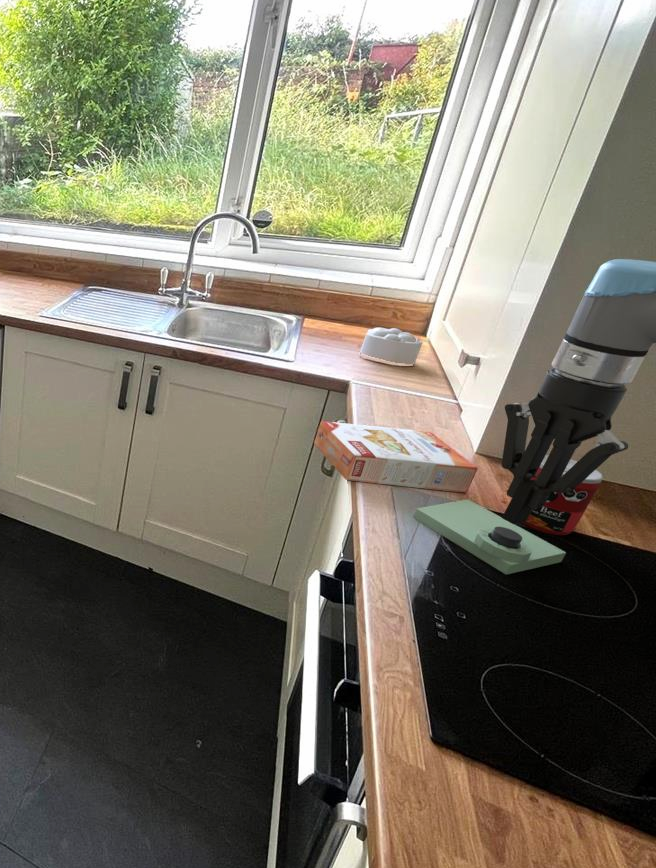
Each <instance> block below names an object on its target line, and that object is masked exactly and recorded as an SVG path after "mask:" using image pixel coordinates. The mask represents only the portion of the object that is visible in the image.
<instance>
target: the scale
mask: <svg viewBox="0 0 656 868" xmlns="http://www.w3.org/2000/svg"><path fill="white" fill-rule="evenodd" d="M502 517H503V516H502ZM502 517H501V516H500V515H498V514H496V513H494V512H493V511H491V510H488V509H487V508H485V507H484V506H481V505H480V504H478V503H475V502H474V501H472V500H470V499H462V500H457V501H450V502H445V503H439V504H433V505H429V506H423V507H422V506H421V507H417V508H416V509H415V510H414V513H413V516H412V518H413V519H415V520H417V521H418V522H420V523H422V524H423V525H424V526H426V527H428V529H431V530H433V531H435V532H436V533H438V534H439V535H441V536H442V537H444V538H446V539H448V540H449V541H451V542H452V543H454V544H456V545H457V546H459V547H460V548H462V549H464V550H465V551H467V552H469V553H470V554H472V555H473V556H475V557H477V559H480V560H481V561H483V562H484V563H486V564H488V565H490V566H491V567H493V568H494V569H496V570H497V571H499V572H501V573H503V574H504V575H511V574H514V573H519V572H524V571H528V570H533V569H536V568H540V567H545V566H550V565H554V564H558V563H562V561H563V560H564V558H565V556H566V554H567V552H566V551H564V550H562V549H561V548H559V547H557V546H556V545H553V544H551V543H549V542H548V541H546V540H544V539H543V538H540V537H539V536H537V535H535V534H533V533H532V532H529V531H528V530H525V529H524V528H523V527H521V526H518V525H517V524H512V523H510V522H508V521H506V520H504V519H503V518H502ZM495 527H504V528H508V529H511V530H513V531H515V532H517V533H518V534H520V535H521V536H522V541H521V543H520V545H519V546H518V548H517V549H512V548H507V547H504V546H501V545H499V544H497V543H495V542H494V541H492V540H491V539H490V536H491V534H492V532H493V530H494V528H495Z"/></svg>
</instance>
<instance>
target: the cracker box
mask: <svg viewBox="0 0 656 868" xmlns="http://www.w3.org/2000/svg"><path fill="white" fill-rule="evenodd" d="M313 445H314V446H315V447H316V448H317V450H318V451H319V452H320V453H321V454H322V455H323V456H324V457H325V459H327V461H328V462H329V463H330V464H331V465H332V466H333V467H334V468H335V469H336V471H337V472H338V473H339V474H340V475H341V476H342V478H344V480H346V481H353V482H361V483H363V482H364V483H370V484H379V485H389V486H400V487H407V488H417V489H426V490H436V491H445V492H453V493H454V492H455V493H464V494H467V493H468V492H469V489H470V487H471V485H472V482H473V481H474V478H475V476H476V473H477V471H478V469H479V467H478V466H476V465H475V464H473V463H472V462H471V461H469V460H468V459H467V458H465V457H464V456H463V455H461V454H460V453H459V452H457V451H456V450H455V449H453V448H452V447H451V446H450V445H449V444H447V443H446V442H444V441H443V440H442V439H441V438H439V437H438V436H436V435H435V434H434V433H433V432H432V431H428V430H427V431H426V430H415V429H406V428H398V427H397V428H396V427H386V426H377V425H376V426H374V425H364V424H355V423H345V422H335V421H327V420H321V421H320V423H319V425H318V429H317V433H316V435H315V439H314V441H313Z"/></svg>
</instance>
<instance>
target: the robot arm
mask: <svg viewBox="0 0 656 868" xmlns="http://www.w3.org/2000/svg"><path fill="white" fill-rule="evenodd" d="M573 315H574V316H573V318H572V320H571V322H570V324H569V326H568V329H567V331H566V333H565V335H564V337H563V339H562V341H561V343H560V345H559V348H558V349H557V352H556V354H555V355H554V357H553V359H552V362H551V366H552V368H551V369H549V370H547V372H546V374H545V375H544V378H543V379H542V382H541V384H540V386H539V388H538V389H537V390H538V392H537V394H536V395H535V396H534V397H532V398H531V399H529V401H528V402H514V403H507V404H505V405H504V411H505V414H506V418H507V424H506V430H505V438H504V445H503V452H502V459H501V467H502V468H503V469H505V470H508V471H509V472H510V473H511V474H512V475H513V476H512V477H513V478H512V480H511V482H510V484H509V487H508V489H507V490H506V496H508V497H510V498H511V499H510V501H509V502H508V505H507V507H506V509H505V511H504V513H503V515H502V518H503V519H504V520H506V521H508V522H510V523H512V524H514V525H517V524H520V523H521V524H523V523H522V522H526V521H527V519H528V517H529V515H530V513H531V511H532V509H536V508H541V507H542V506H544V504H545V502H546V500H547V498H548V496H549V495H550V493H551V491H553V492H555V493H563V492H569V491H573V490H574V489H575V488H576V487H577V486H578V485H579V484H580V483H582V482H583V481H584V480H585V479H586V478H587V477H588V476H589V475H590V474H591V473H592V472H594V471H595V470H597V469H598V468H599V467H600V466H601V465H603V464H604V463H605V462H606V461H607V460H608V459H609V458H610V457H611V456H614V455H615V454H618V453H621V452H624V451H626V450H628V448H629V444H628V442H626V441H625V440H619V439H618V438H617V437H616V436H615V435H614V434H613V433H612V431H611V430H612V427H613V425H612V416H613V415H614V414H615V412H616V411H617V409H618V407H619V406H620V404H621V402H622V401H623V398H624V396H625V394H626V392H627V391H628V389H627V387H626V386H625V385H628V384H631V383H632V382H633V380H634V378H635V377H636V375H637V372H638V371H639V369H640V367H641V365H642V363H643V361H644V359H645V358H646V356H647V355H648V352H649V350H650V349H651V347H652V346H653V344H656V261H650V260H642V259H630V258H617V259H611V260H608V261H606V262H604V263H602V264H601V265H600V266H599V268H598V269H597V271H596V273H595V274H594V276H593V278H592V280H591V282H590V284H589V285H588V287H587V288H586V289H585V290H584V294H583V296H582V298H581V301H580V303H579V305H578V307H577V309H576V311H575V313H574V314H573ZM530 417H531V418H532V421H533V424H534V428H533V430H532V432H531V434H530V437H531V438H530V440H529V442H528V444H527V439H528V433H529V426H530V425H529V424H530ZM596 437H597V439H596V440H595V441H594V442H593V447H594V448H592V449H590V450H588V451H587V452H586V453H585V454H584V455H583V456H581V458H580V459H579V460H578V461H577V463H576V464H575V465H574V466H573V467H571V468H570V469H569V470H568V471H567V472H566V473H565V474H564V475H563V476H562V474H563V472H564V470H565V468H566V467H567V465H568V463H569V461H570V459H571V460H572V457H573V455H574V453H575V452H576V450H577V449H578V448H579V447H580V446H581V445H582V443H583V442H585V441H588V440H590V439H593V438H596ZM526 445H527V446H526ZM551 446H552V448H551ZM550 448H551V450H550ZM549 450H550V452H549ZM548 452H549V456H548V458H547V460H546V462H545V464H544V466H543V468H542V470H541V472H540V474H539V476H538V475H536V473H537V471H538V469H539V467H540V465H541V463H542V461H543V459H544V457H545V455H547V453H548ZM537 476H538V478H537V480H536V481H535V480H531V478H534V477H537ZM561 476H562V477H561Z"/></svg>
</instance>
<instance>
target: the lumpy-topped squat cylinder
mask: <svg viewBox="0 0 656 868" xmlns="http://www.w3.org/2000/svg"><path fill="white" fill-rule="evenodd" d="M422 345H423V341H422V340H421V339H419V338H417V337H415V335H413V334H412V333H410V332H408V331H407V332H403V331H402V330H401V329H399V328H396V327H393V328H385V327H380V326H379V327H378V326H377V327H374V328H369V329H368V330H367V332H366V333H365V336H364V339H363V342H362V345H361V348H360V351H359V353H360V352H361V353H363V354H365V355H368V356H371V357H375V358H379V359H383V360H386V361H390V362H395V363H405V364H413V363H415V364H416V361H417V359H418V356H419V354H420V351H421V348H422Z"/></svg>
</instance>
